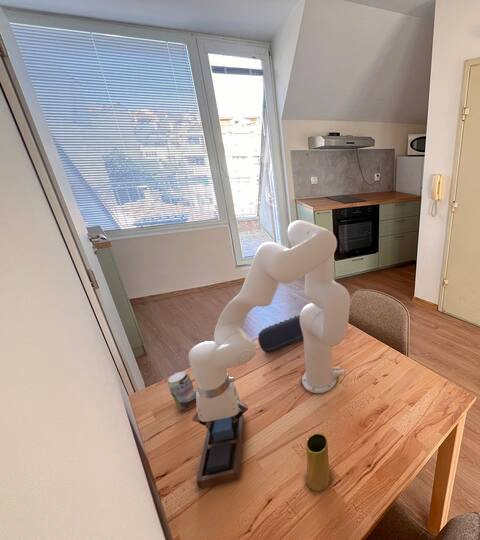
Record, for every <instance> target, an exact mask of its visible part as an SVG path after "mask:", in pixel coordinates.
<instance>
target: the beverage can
mask: <svg viewBox="0 0 480 540" xmlns="http://www.w3.org/2000/svg"><path fill="white" fill-rule="evenodd" d="M167 388H168V389H169V391H170V394H171V396H172V398H173V400H174V402H175V404H176V407H177V409H178V410H180V411H185V410H189V409H191V408H192V407H195V405H196V392H197V390H196V389H195V387H194V385H193V382H192V379H191V377H190V375H189V373H187V372H185V371H184V370H182V371H177V372H175V373H173V374H172V375H170V376H169V378H168V380H167Z"/></svg>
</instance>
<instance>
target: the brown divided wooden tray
mask: <svg viewBox="0 0 480 540" xmlns="http://www.w3.org/2000/svg"><path fill="white" fill-rule="evenodd" d="M238 421H239V427H237V430H236V433H234V438H233V439H228V440H224V441H219V442H214V439H213V437H212V434H211V433H210V432H209V429H208V428H207V430H206V434H205V435H206V436H205V439H204V445H203V450H202V453H201V458H200V463H199V467H198V471H197V476H196V480H195V481H196V486H197V488H198V490H201V489H205V488H209V487H214V486H218V485H222V484H226V483H229V482H232V481H237V480H240V470H241V462H242V461H241V458H242V450H243V438H244V428H245V416H244V413H243V414H242V416H241V417H240V418H239V419H238ZM230 442H231V446H232V450H233V455H232V463H231V470H228V471H224V472H220V473H215V474H211V475H209V474H208V471H207V465H208V460H209V455H210V450H211V446H216V445H221V444H225V443H230Z"/></svg>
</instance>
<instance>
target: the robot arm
mask: <svg viewBox="0 0 480 540" xmlns="http://www.w3.org/2000/svg"><path fill="white" fill-rule="evenodd" d="M287 238H288V241H289V242H290V245H292V248H288V247H287V246H285V245H283V244H281V243H278V242H276V241H275V242H274V241H266V242H263V243H262V244H261V245H259V246H258V248H257V250H256V252H255V254H254V256H253V259H252V261H251V264H250V267H249V269H248V271H247V274H246V276H245V279H244V281H243V284H242V287H241V289H240V291H239V293H238V294H236V296H234V297H233V298H232V299H231V300H230V301H229V302H228V303H227V304H226V305H225V307H223V309H222V311H221V313H220V316H219V317H218V320H217V323H216V325H215V328H214V331H213V340H207V341H203V342H200V343H197V344H196V345H194V346H192V348H191V349H190V350H189V352H188V362H189V366H190V369H191V372H192V375H193V379H194V382H195V383H194V384H195V385H196V403H195V405H196V410H195V412H194V414H193V415H192V418H191V421H192V422H195V423H199V424H200V425H202V426H205V428H206V429H207V430H208V429H209V432H210V433H211V434H212V430H213V426H214V421H215V420H218V419H223V418H228V417H230V419H231V420H232V423H231V424H232V427H233V431H234V433H236V430H237V427H239V421H238V419H239V418H240V417H241V416H242V414H243V415H244V414H245V413H246V412H248V410H249V405H248V404H247V403H244V402H243V401H242V400H241V399H240V395H239V392H238V390H237V387H236V385H235V376H232V377H231V376H229V373H228V371H227V370H228V369H231V368H235V367H240V366H243V365H246V364H248V363H250V362H251V361H253V359H254V358H255V356H256V354H257V346H256V344H255V342H254V341H253V340H252V339H251V338H250V337H249V335H248V334H247V333H246V331H244V329H243V325H244V323H245V320H246V318H247V317H248V314H249V313H250V312H251V310H252V309H254V308H256V307H268V306H270V305H271V304H272V302H273V301H274V297H275V295H276V292H277V290H278V288H279V285H280V283H281V284H292V283H294V282H296V281H298V280H300V279H302V278H304V295H305V298H306V300H308V302H309V303H308V304H305V306H304V307H303V308H302V309H301V311H300V313H299V315H300V326H301V330H302V333H303V338H302V340H303V351H304V352H303V353H304V364H305V365H304V366H305V367H304V368H305V372H304V373H303V374H302V377H301V383H302V386H303V388H304V389H305V390H306V391H308V392H310V393H313V394H322V393H326V392H329V391H330V390H331V389H333V388H334V386H336V384H337V379H338V378H337V377H339V376H340V377H341V376H345V375H346V370H345V369H341V366H340V365H338V366H333V347H336V346H339V345H340V344H341V343H342V342H343V341H344V340H345V338H346V337H347V332H348V330H349V329H348V328H349V321H350V320H349V319H350V312H351V311H350V310H351V296H350V293H349V291H348V288H346V287H345V286H344V285H342V284H341V283H339V282H337V281H336V280H335V279H334V257H333V256H334V254H335V252H336V250H337V247H338V241H337V238H336V235H335V234H334V233H333V232H332V231H330V230H328V229H327V228H324V227H322V226H319V225H317V224H314V223H312V222H310V221H307V220H302V219H301V220H300V219H298V220H294V221H293V222H291V223H290V224H289V225H288V228H287ZM212 437H213V435H212Z"/></svg>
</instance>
